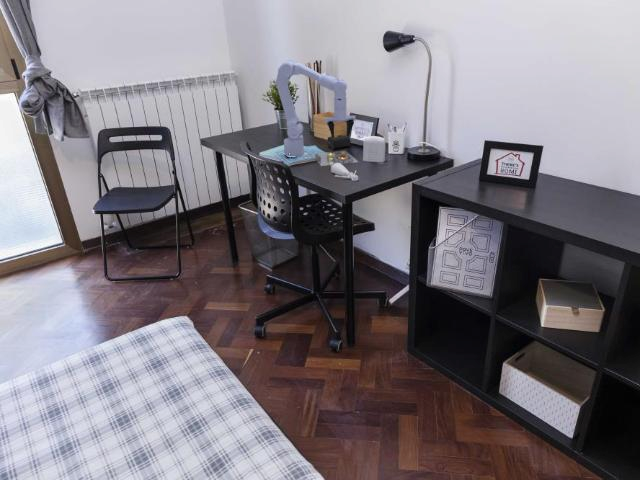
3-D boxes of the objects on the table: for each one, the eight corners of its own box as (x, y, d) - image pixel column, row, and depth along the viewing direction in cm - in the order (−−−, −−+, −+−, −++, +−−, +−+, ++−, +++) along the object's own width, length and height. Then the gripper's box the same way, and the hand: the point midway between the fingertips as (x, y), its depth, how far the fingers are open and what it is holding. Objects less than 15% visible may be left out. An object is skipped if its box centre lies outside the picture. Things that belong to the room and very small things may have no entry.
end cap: (334, 152, 241) (333, 139, 238) (326, 149, 247) (326, 136, 244) (350, 149, 246) (350, 136, 243) (343, 146, 251) (343, 133, 248)
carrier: (321, 167, 219) (321, 159, 218) (310, 155, 237) (310, 148, 235) (358, 164, 223) (358, 155, 222) (345, 152, 241) (345, 144, 239)
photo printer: (385, 161, 225) (386, 135, 220) (383, 164, 222) (384, 138, 216) (364, 160, 228) (364, 134, 223) (362, 163, 225) (362, 136, 219)
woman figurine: (344, 158, 217) (368, 171, 204) (343, 168, 219) (367, 181, 206) (322, 163, 211) (346, 177, 198) (322, 173, 213) (345, 187, 200)
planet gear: (339, 161, 224) (339, 153, 222) (336, 158, 228) (336, 150, 226) (349, 161, 225) (349, 152, 223) (346, 158, 229) (346, 149, 227)
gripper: (327, 110, 219) (328, 139, 225) (357, 108, 222) (357, 137, 228) (323, 107, 225) (324, 136, 231) (353, 105, 228) (352, 133, 234)
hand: (340, 136), depth 230 cm, fingers open, 7 cm apart
